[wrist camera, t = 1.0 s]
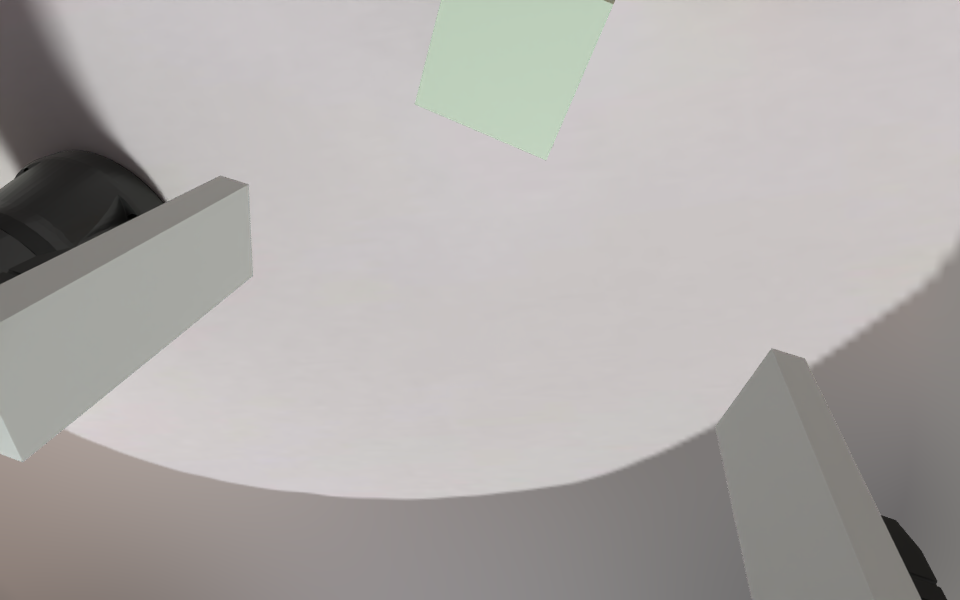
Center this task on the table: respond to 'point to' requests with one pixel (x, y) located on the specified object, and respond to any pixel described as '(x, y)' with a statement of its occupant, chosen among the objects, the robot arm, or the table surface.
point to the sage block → (510, 65)
